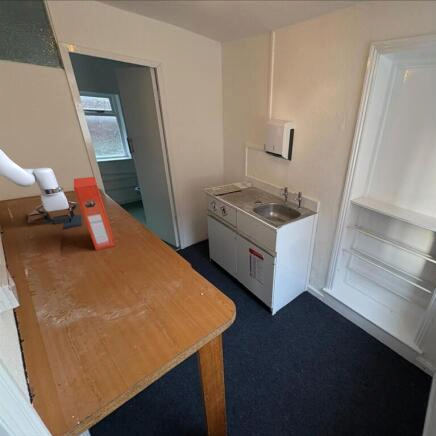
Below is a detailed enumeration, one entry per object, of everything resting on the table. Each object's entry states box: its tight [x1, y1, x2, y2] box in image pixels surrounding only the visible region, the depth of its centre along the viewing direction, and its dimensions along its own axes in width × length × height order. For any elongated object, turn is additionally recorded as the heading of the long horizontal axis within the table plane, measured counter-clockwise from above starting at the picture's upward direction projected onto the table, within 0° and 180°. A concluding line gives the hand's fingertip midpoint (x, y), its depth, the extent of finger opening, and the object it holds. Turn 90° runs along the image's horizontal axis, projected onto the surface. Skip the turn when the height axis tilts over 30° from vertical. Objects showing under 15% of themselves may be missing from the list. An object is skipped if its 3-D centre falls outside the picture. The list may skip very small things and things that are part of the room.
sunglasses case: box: [26, 207, 46, 224], centre depth 141 cm, size 18×7×7 cm, turn 48°
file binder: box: [73, 176, 116, 251], centre depth 114 cm, size 8×17×32 cm, turn 40°
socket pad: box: [43, 213, 83, 230], centre depth 135 cm, size 16×16×2 cm
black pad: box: [52, 214, 70, 226], centre depth 135 cm, size 6×6×4 cm
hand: (61, 219), depth 134 cm, fingers open, 9 cm apart
